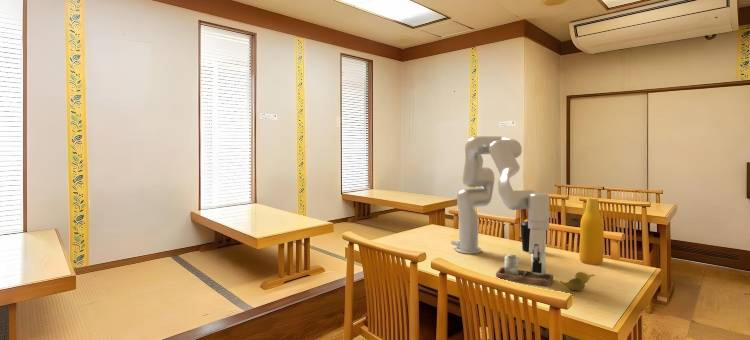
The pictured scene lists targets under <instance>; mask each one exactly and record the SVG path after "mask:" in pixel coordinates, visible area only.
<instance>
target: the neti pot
mask: <svg viewBox="0 0 750 340" xmlns="http://www.w3.org/2000/svg"><path fill="white" fill-rule="evenodd" d="M595 276H596V275H595V274H590V275H589V274H587V273H585V272H582V271H578V272H577V273H576V274H575V278H574V277H573V278H571V279H570V280H568V281H566V282H565V281H562V280H559V283H560V284H561V285H562V286H565V287H566V288H568V289H570V290H572V291H583V290H584V289H585V287H586V284H587V283H588V282H589V280H590V279H591V278H592V277H595Z"/></svg>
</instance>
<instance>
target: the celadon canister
mask: <svg viewBox="0 0 750 340" xmlns="http://www.w3.org/2000/svg"><path fill="white" fill-rule="evenodd" d="M538 255H540V253H538ZM530 256H531V257H530V264H531V265H530V271H531V273H533V274H537V275H544V274H547V273H546V272H547V271H546V269H547V268H546V267H547V266H546V264H547V261H546V259H547V254H546V251H545V252H544V253H543V255H541V263H542V272H541V273H535V272H532V262H533V253H532V254H530ZM538 257H539V256H538Z"/></svg>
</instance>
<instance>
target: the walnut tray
mask: <svg viewBox="0 0 750 340" xmlns="http://www.w3.org/2000/svg"><path fill="white" fill-rule="evenodd" d="M496 277H498V278H502V279H501V280H505V279H506V280H505V281H511V282H518V283H524V284H530V285H534V286H535V285H536V286H540V287H541V286H542V287H549V288H550V287H551V286H552V284H553V281H554V274H551V273H546V274H544V275H537V274H533V273H531V270H523V269H519V257H518V256H517V255H515V254H511V253H510V254H507V255H505V256H504V266H501V267H500V268H499V269H498V270H497V271H496V273H495V278H496ZM498 278H497V279H498Z"/></svg>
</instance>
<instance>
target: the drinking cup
mask: <svg viewBox="0 0 750 340" xmlns="http://www.w3.org/2000/svg"><path fill="white" fill-rule="evenodd" d="M526 218H527V220H526V221H522V222H520V223H519V225H520V232H521V233H520V234H521V246H522V248H521V249H522V251H523V252H525V251H526V252H527V253H529V241H530V230H531V229H529V228H528V216H527V217H526ZM526 252H525V253H526Z"/></svg>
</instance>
